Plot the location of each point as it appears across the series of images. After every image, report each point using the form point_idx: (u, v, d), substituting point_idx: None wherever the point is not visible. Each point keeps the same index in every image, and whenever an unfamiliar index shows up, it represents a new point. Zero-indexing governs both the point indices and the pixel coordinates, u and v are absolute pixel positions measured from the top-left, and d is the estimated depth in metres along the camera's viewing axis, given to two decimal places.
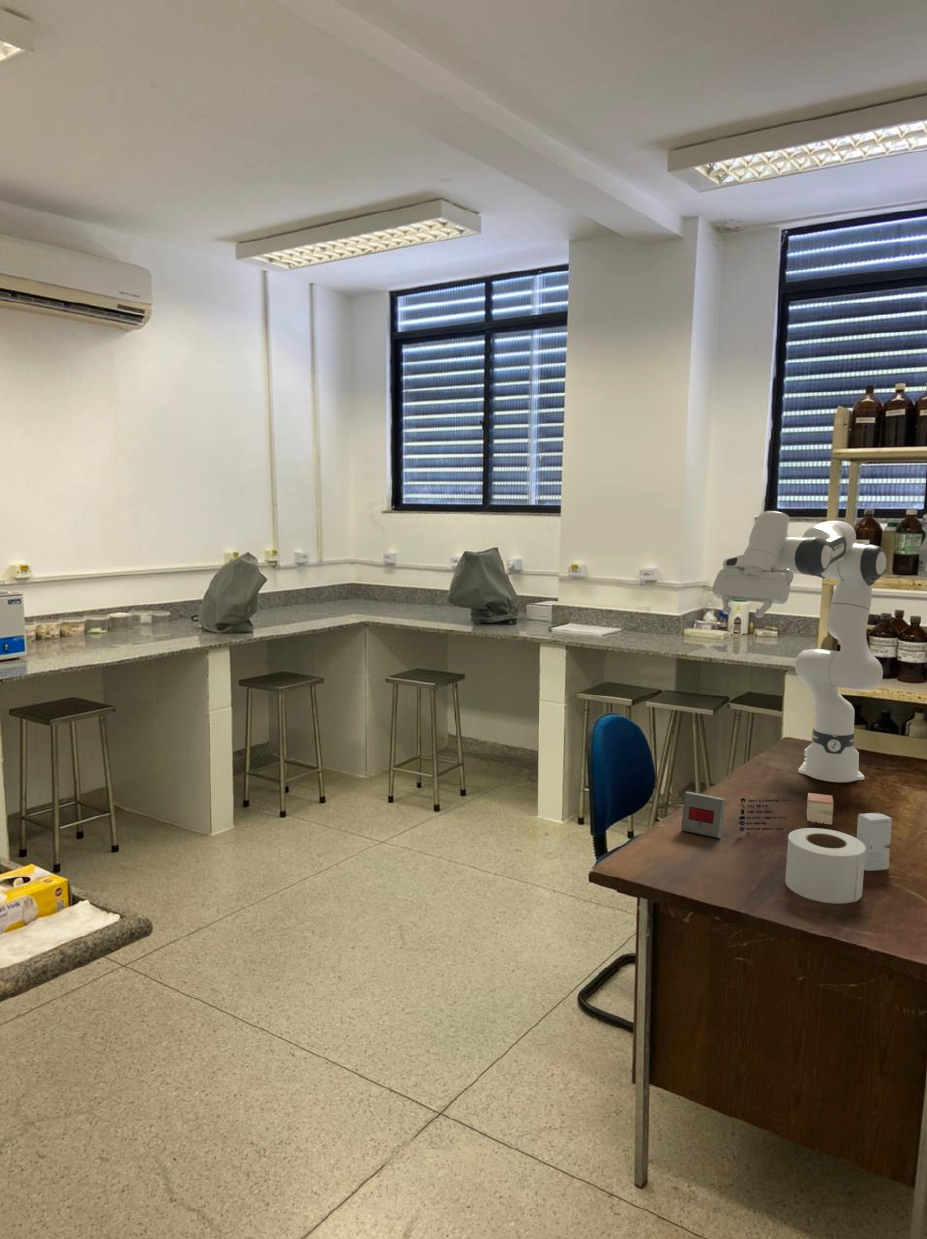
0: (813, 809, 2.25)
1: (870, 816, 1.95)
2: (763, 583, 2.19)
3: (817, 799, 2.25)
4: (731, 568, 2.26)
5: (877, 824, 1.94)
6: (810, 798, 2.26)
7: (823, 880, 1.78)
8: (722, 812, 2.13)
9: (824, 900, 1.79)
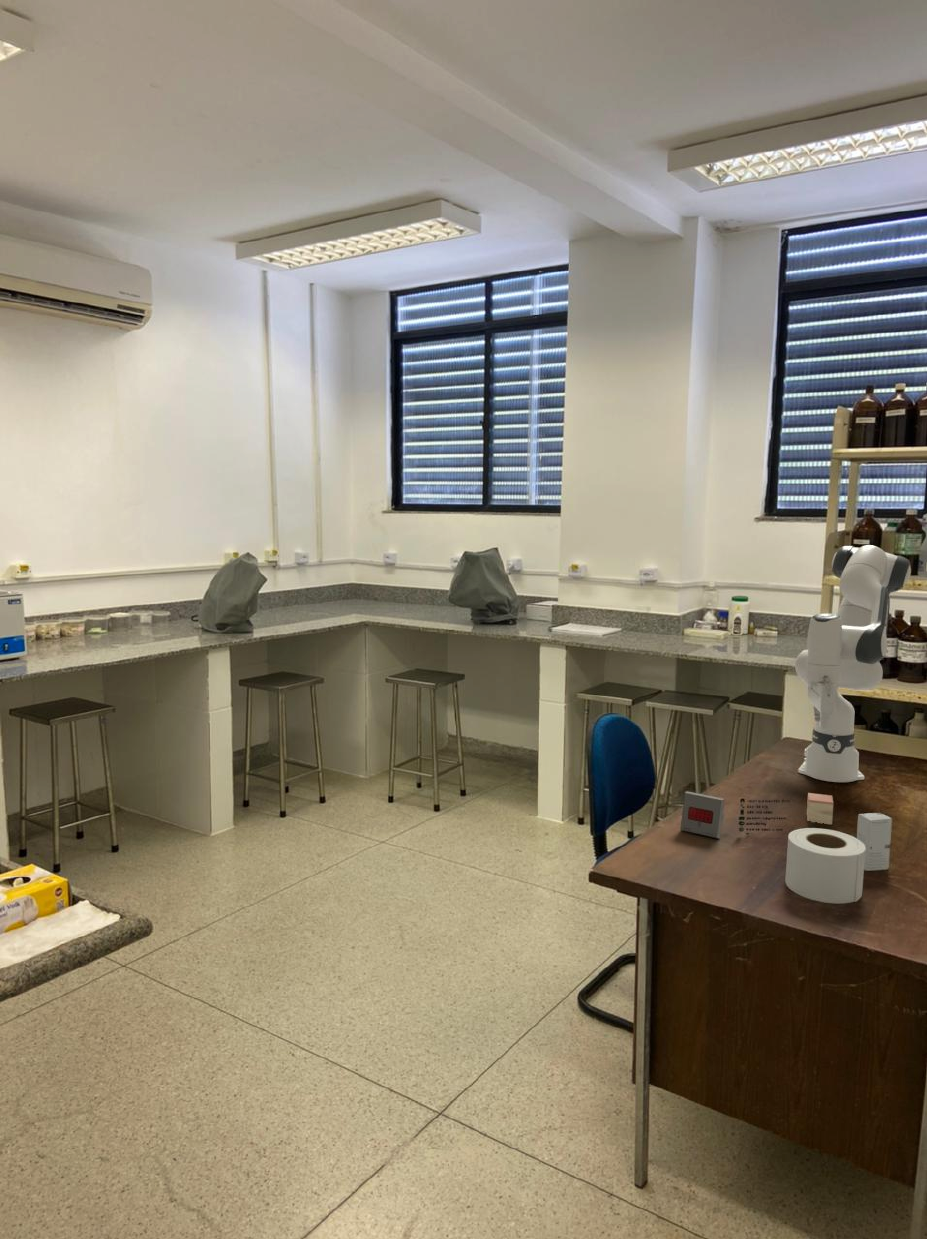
0: (813, 809, 2.25)
1: (870, 816, 1.95)
2: (818, 694, 2.28)
3: (817, 799, 2.25)
4: None
5: (877, 824, 1.94)
6: (810, 798, 2.26)
7: (823, 880, 1.78)
8: (721, 812, 2.13)
9: (824, 900, 1.79)
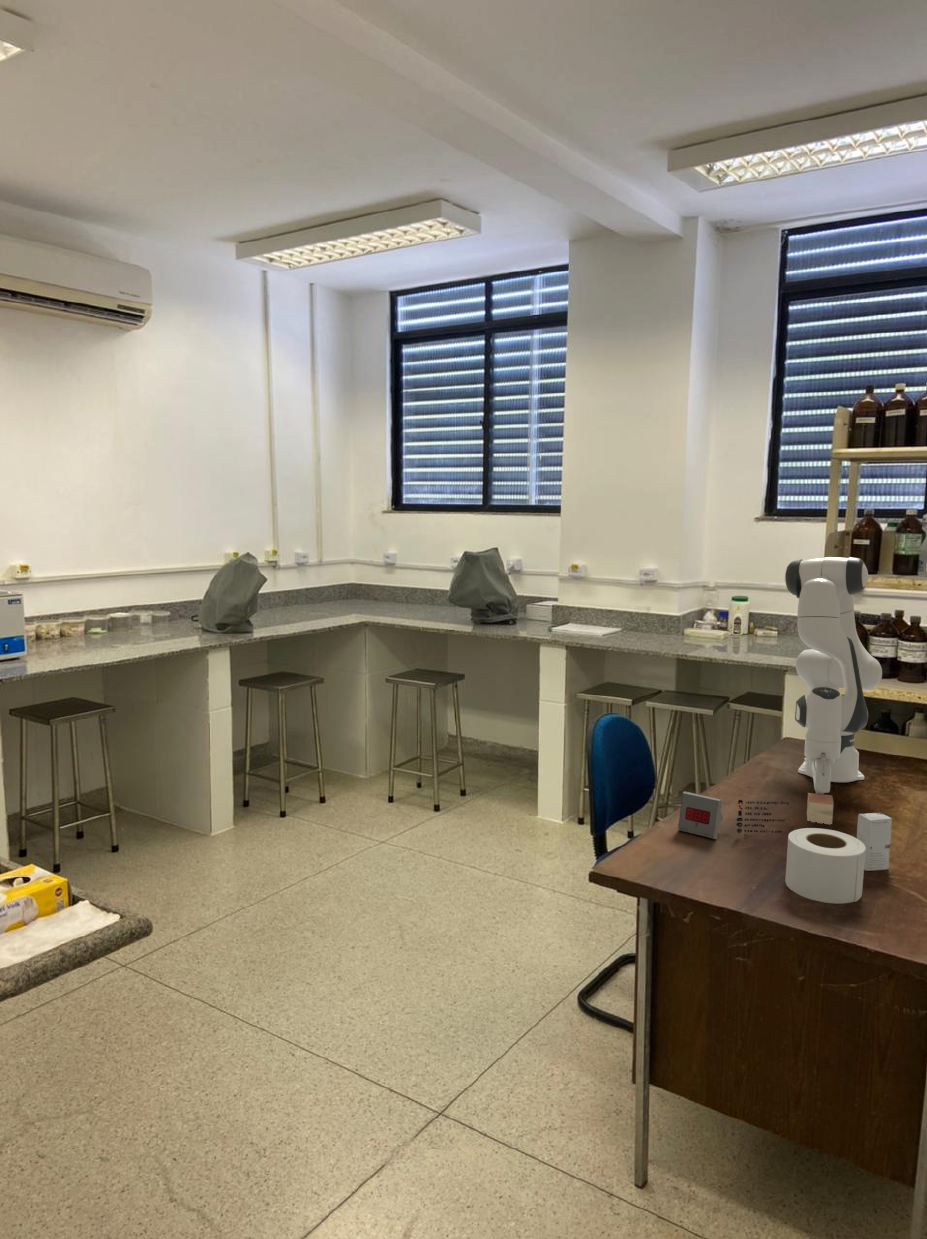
0: (813, 809, 2.25)
1: (870, 816, 1.95)
2: None
3: (817, 799, 2.25)
4: None
5: (877, 824, 1.94)
6: (810, 798, 2.26)
7: (823, 880, 1.78)
8: (718, 813, 2.13)
9: (824, 900, 1.79)
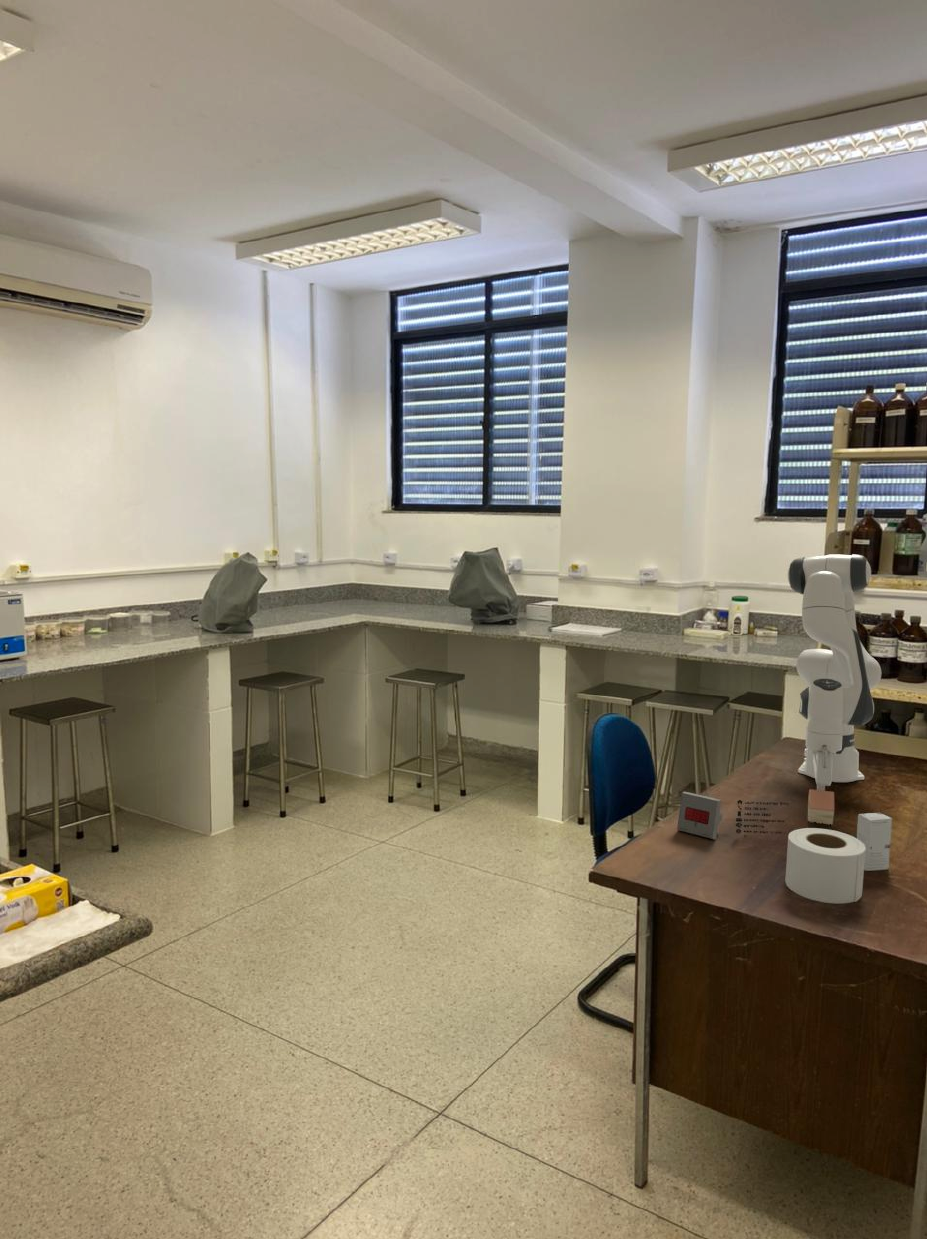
0: (814, 813, 2.23)
1: (870, 816, 1.95)
2: (817, 763, 2.23)
3: (818, 804, 2.22)
4: None
5: (877, 824, 1.94)
6: (811, 803, 2.23)
7: (823, 880, 1.78)
8: (718, 813, 2.12)
9: (824, 900, 1.79)
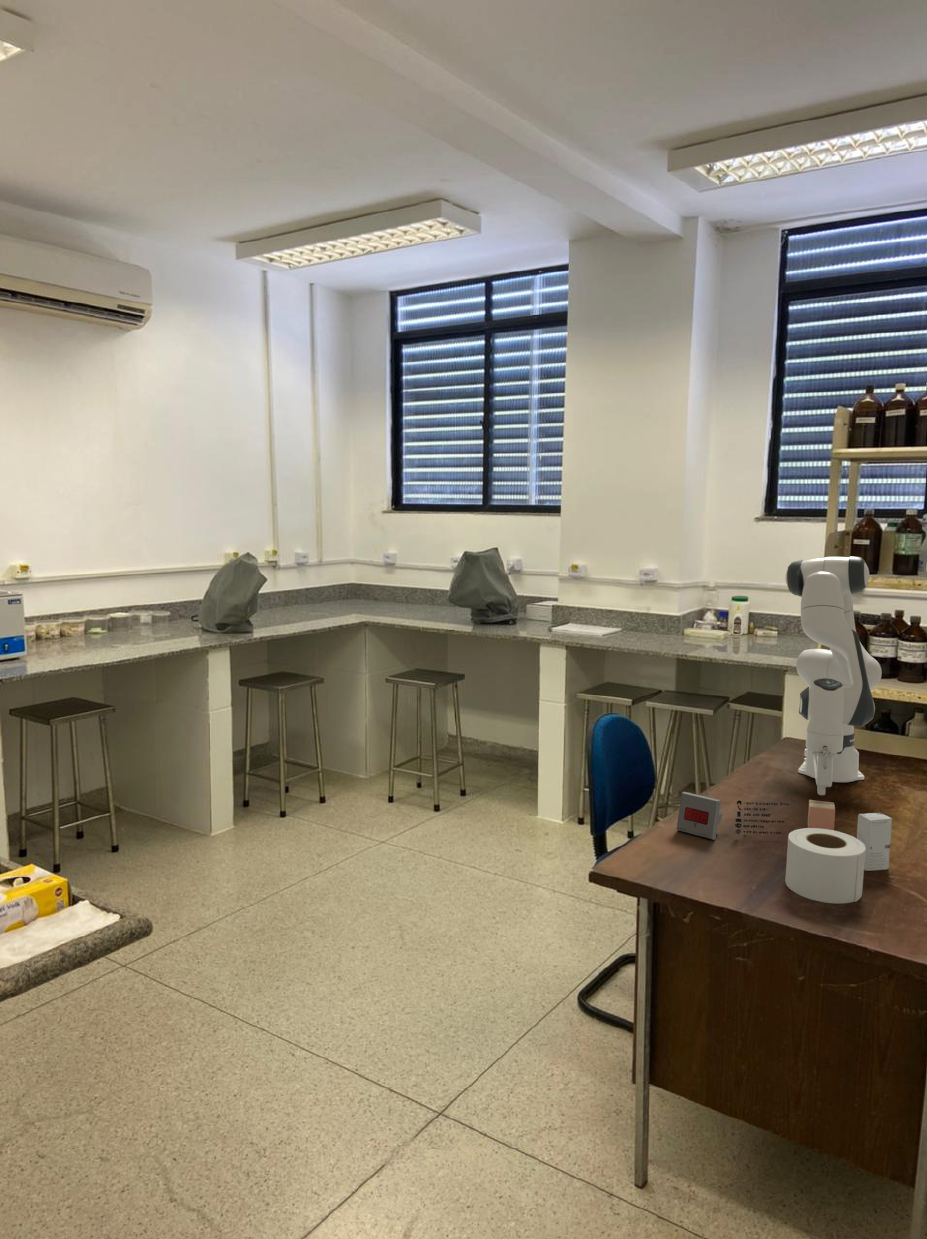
0: None
1: (870, 816, 1.95)
2: (817, 764, 2.20)
3: (817, 826, 2.19)
4: None
5: (877, 824, 1.94)
6: (810, 825, 2.20)
7: (823, 880, 1.78)
8: (717, 813, 2.12)
9: (824, 900, 1.79)
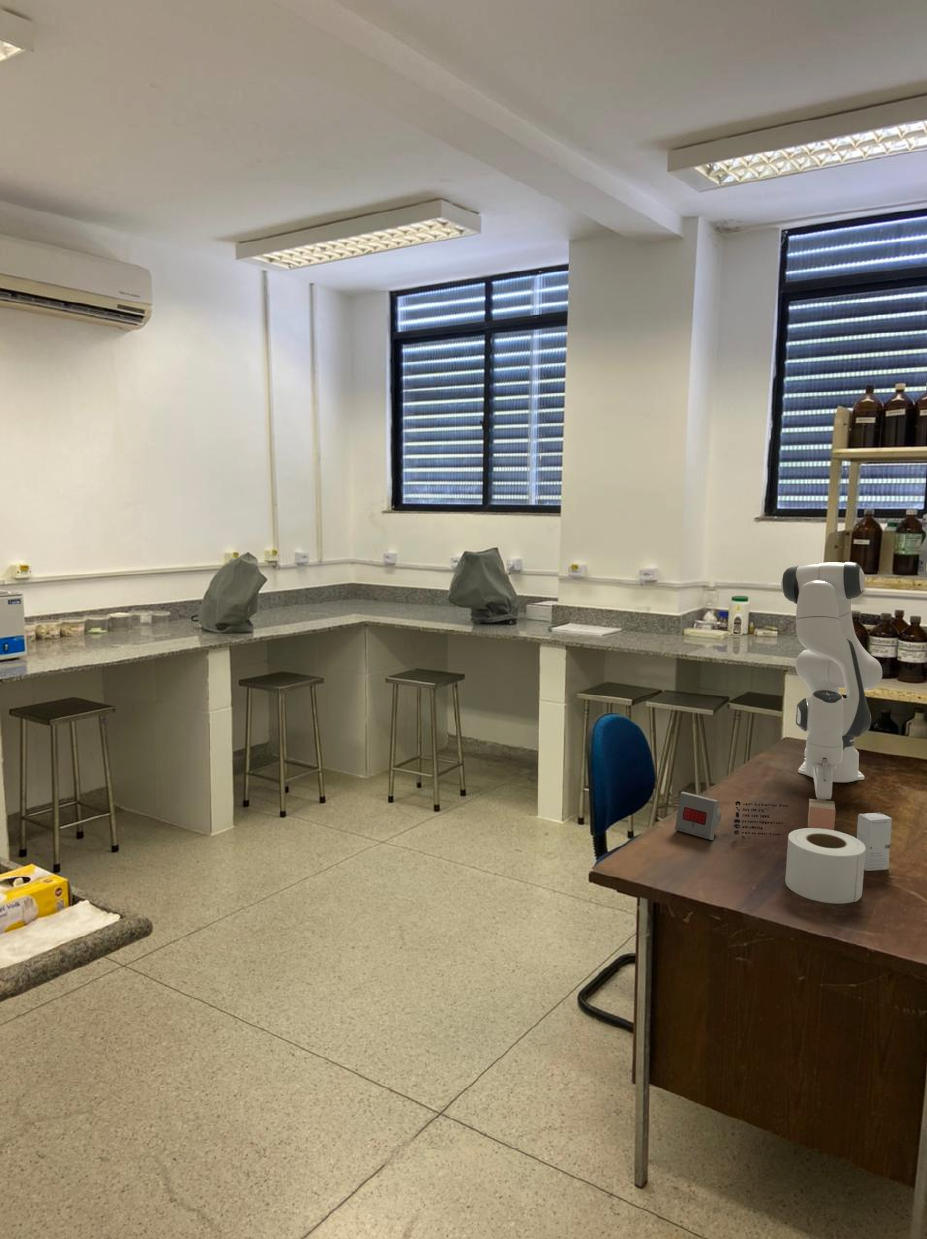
0: None
1: (870, 816, 1.95)
2: (817, 776, 2.21)
3: (817, 826, 2.19)
4: None
5: (877, 824, 1.94)
6: (810, 824, 2.19)
7: (823, 880, 1.78)
8: (715, 814, 2.12)
9: (824, 900, 1.79)
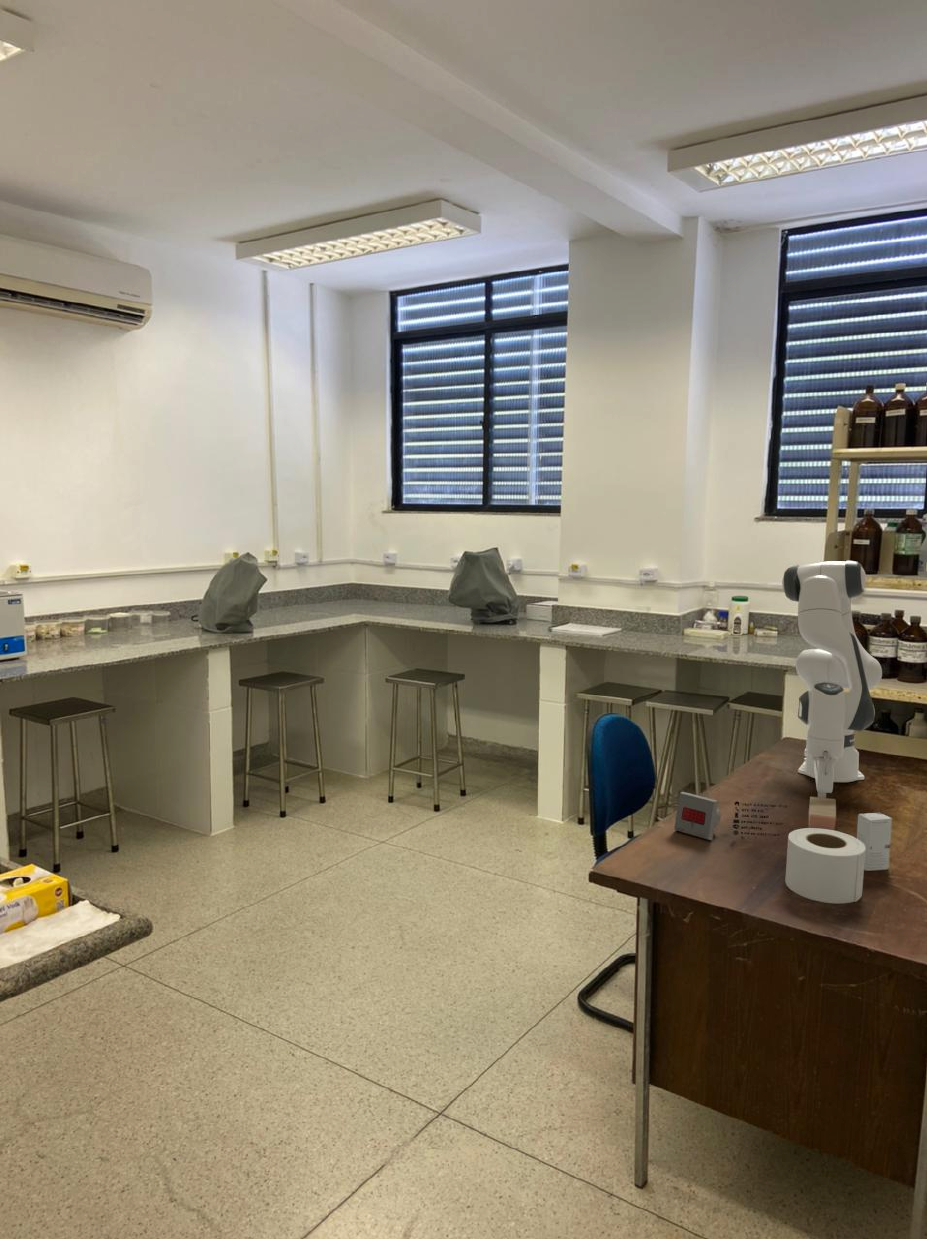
0: None
1: (870, 816, 1.95)
2: (817, 770, 2.17)
3: None
4: None
5: (877, 824, 1.94)
6: (810, 827, 2.19)
7: (823, 880, 1.78)
8: (714, 814, 2.12)
9: (824, 900, 1.79)
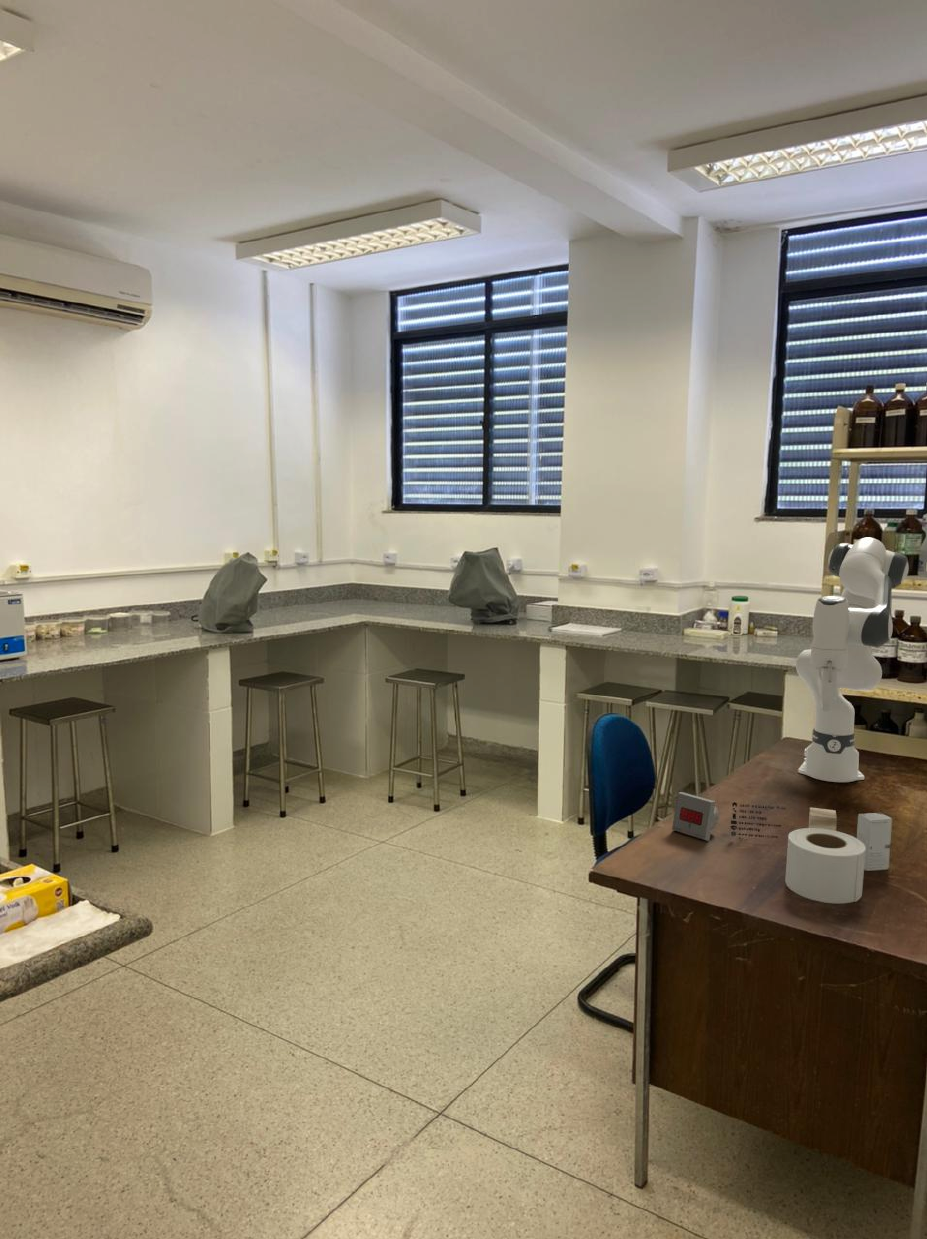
0: None
1: (870, 816, 1.95)
2: (821, 679, 2.21)
3: None
4: None
5: (877, 824, 1.94)
6: None
7: (823, 880, 1.78)
8: (711, 815, 2.11)
9: (824, 900, 1.79)
